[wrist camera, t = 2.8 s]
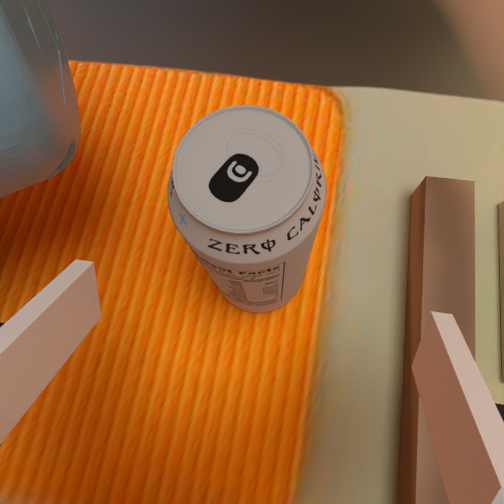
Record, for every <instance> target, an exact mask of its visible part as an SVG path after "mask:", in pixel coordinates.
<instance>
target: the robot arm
mask: <svg viewBox="0 0 504 504" xmlns="http://www.w3.org/2000/svg"><path fill="white" fill-rule="evenodd" d="M80 132H81V128H80V114H79V107H78V101H77V96H76V91H75V87H74V83H73V79H72V75H71V71H70V68H69V64H68V60H67V57H66V54H65V50H64V47H63V44H62V40H61V37H60V34H59V32H58V28H57V25H56V22H55V19H54V16H53V13H52V10H51V7H50V5H49V2H48V0H0V199H1V198H2V197H5V196H7V195H10V194H12V193H15V192H17V191H20V190H22V189H25V188H27V187H30V186H32V185H35V184H37V183H40V182H42V181H45V180H47V179H50V178H52V177H54V176H56V175H58V174H59V173H60V172H62V171H63V170H64V169H66V168H67V167H68V166H69V164H70V163H71V162H72V160H73V158H74V157H75V155H76V153H77V149H78V146H79V141H80ZM100 318H101V311H100V304H99V296H98V289H97V281H96V274H95V266H94V262H91V261H84V260H77V259H76V260H75V261H73V262H72V263H71V264H70V265H69V266H68V267H67V268H66V269H65V270H64V271H62V272H61V273H60V274H59V275H58V276H57V277H56V278H55V279H54V280H52V281H51V282H50V283H49V284H48V285H47V286H46V287H45V288H44V289H42V290H41V291H40V292H39V293H38V294H37V295H36V296H35V297H34V298H32V299H31V300H30V301H29V302H28V303H27V304H26V305H25V306H24V307H23V308H21V309H20V310H19V311H18V312H17V313H16V314H15V315H14V316H13V317H11V318H10V319H9V320H8V321H7V322H6V323H1V322H0V445H1V443H2V442H3V441H4V439H5V438H6V437H7V436H8V434H9V433H10V432H11V431H12V429H13V428H14V427H15V426H16V424H17V423H18V422H19V420H20V419H21V418H22V417H23V415H24V414H25V413H26V412H27V410H28V409H29V408H30V407H31V405H32V404H33V403H34V401H35V400H36V399H37V398H38V396H39V395H40V394H41V393H42V391H43V390H44V389H45V388H46V386H47V385H48V384H49V382H50V381H51V380H52V379H53V377H54V376H55V375H56V374H57V372H58V371H59V370H60V368H61V367H62V366H63V365H64V363H65V362H66V361H67V360H68V358H69V357H70V356H71V355H72V353H73V352H74V351H75V349H76V348H77V347H78V346H79V344H80V343H81V342H82V341H83V339H84V338H85V337H86V336H87V334H88V333H89V332H90V330H91V329H92V328H93V327H94V325H95V324H96V323H97V322H98V320H99V319H100ZM411 367H412V371H413V374H414V378H415V382H416V385H417V389H418V393H419V396H420V400H421V403H422V407H423V411H424V414H425V418H426V422H427V425H428V429H429V433H430V436H431V440H432V444H433V447H434V451H435V455H436V458H437V462H438V466H439V469H440V473H441V477H442V480H443V484H444V488H445V491H446V495H447V499H448V502H449V504H504V405H501V404H495V403H494V401H493V399H492V397H491V394H490V392H489V390H488V388H487V386H486V384H485V382H484V380H483V378H482V375H481V373H480V371H479V369H478V367H477V365H476V363H475V361H474V359H473V356H472V354H471V352H470V350H469V348H468V346H467V344H466V342H465V340H464V337H463V335H462V333H461V331H460V329H459V327H458V325H457V323H456V321H455V318H454V316H453V314H446V313H440V312H433V311H431V313H430V316H429V318H428V321H427V324H426V327H425V330H424V332H423V335H422V338H421V341H420V344H419V346H418V349H417V352H416V355H415V358H414V360H413V363H412V366H411Z"/></svg>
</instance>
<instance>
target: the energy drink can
mask: <svg viewBox="0 0 504 504" xmlns="http://www.w3.org/2000/svg"><path fill="white" fill-rule="evenodd" d="M326 192H327V189H326V178H325V174H324V171H323V167H322V164H321V162H320V160H319V158H318V157H317V155H316V153H315V151H314V150H313V149H312V148H311V146H310V143H309V142H308V140H307V138H306V136H305V135H304V133H303V132H302V131H301V129H300V128H299V127H298V126H297V125H296V124H295V123H294V122H293V121H291V120H290V119H289V118H287V117H286V116H285V115H283V114H281V113H279V112H277V111H274V110H272V109H268V108H265V107H262V106H253V105H237V106H231V107H227V108H222V109H220V110H217V111H215V112H212V113H210V114H208V115H207V116H205V117H204V118H202V119H200V120H199V121H198V122H197V123H195V124H194V125H193V126H192V127H191V128H190V129H189V130H188V131H187V133H186V134H185V135H184V137H183V138H182V140H181V141H180V143H179V145H178V148H177V150H176V152H175V156H174V160H173V168H172V171H171V175H170V179H169V183H168V204H169V210H170V214H171V216H172V219H173V221H174V224H175V226H176V228H177V229H178V231H179V232H180V233H181V235H182V236H183V238H184V239H185V241H186V242H187V244H188V245H189V247H190V248H191V249H192V251H193V252H194V254H195V255H196V257H197V258H198V260H199V261H200V262H201V264H202V265H203V267H204V268H205V270H206V271H207V273H208V274H209V275H210V277H211V278H212V280H213V281H214V283H215V284H216V286H217V287H218V288H219V290H220V291H221V293H222V294H223V296H224V297H225V298H226V299H227V300H228V301H229V302H230V303H231V304H233V305H234V306H236V307H238V308H239V309H242V310H245V311H248V312H254V313H264V312H269V311H273V310H276V309H278V308H280V307H282V306H284V305H285V304H286V303H288V302H289V301H290V300H291V299H292V298H293V297H294V296H295V295H296V293H297V291H298V290H299V288H300V286H301V283H302V280H303V277H304V274H305V270H306V267H307V264H308V260H309V257H310V254H311V250H312V247H313V243H314V240H315V237H316V233H317V230H318V227H319V223H320V220H321V217H322V213H323V210H324V207H325V200H326Z"/></svg>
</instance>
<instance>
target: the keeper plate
mask: <svg viewBox="0 0 504 504" xmlns="http://www.w3.org/2000/svg"><path fill="white" fill-rule="evenodd" d="M498 208H499V253H500V297H501V342H502V382H503V383H504V202H502V203H501V204H499V205H498Z"/></svg>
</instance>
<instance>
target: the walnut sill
mask: <svg viewBox="0 0 504 504" xmlns="http://www.w3.org/2000/svg"><path fill="white" fill-rule="evenodd" d="M431 311H433V312H440V313H446V314H453V316H454V318H455V321H456V323H457V325H458V327H459V329H460V331H461V333H462V335H463V337H464V340H465V342H466V344H467V346H468V348H469V350H470V352H471V354H472V356H473V359H474V361H475V215H474V181H467V180H457V179H448V178H438V177H429V176H426V177H425V178H424V180H423V181H422V182H421V184H420V185H419V186H418V187H417V189H416V190H415V191H414V193H413V194H412V195H411V210H410V233H409V256H408V280H407V303H406V326H405V349H404V373H403V396H402V419H401V443H400V466H399V489H398V504H449V502H448V499H447V495H446V491H445V488H444V484H443V480H442V477H441V473H440V469H439V466H438V462H437V458H436V455H435V451H434V447H433V444H432V440H431V436H430V433H429V429H428V425H427V422H426V418H425V414H424V411H423V407H422V403H421V400H420V396H419V393H418V389H417V385H416V382H415V378H414V374H413V371H412V367H411V366H412V363H413V360H414V358H415V355H416V352H417V349H418V346H419V344H420V341H421V338H422V335H423V332H424V330H425V327H426V324H427V321H428V318H429V316H430V313H431Z"/></svg>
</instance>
